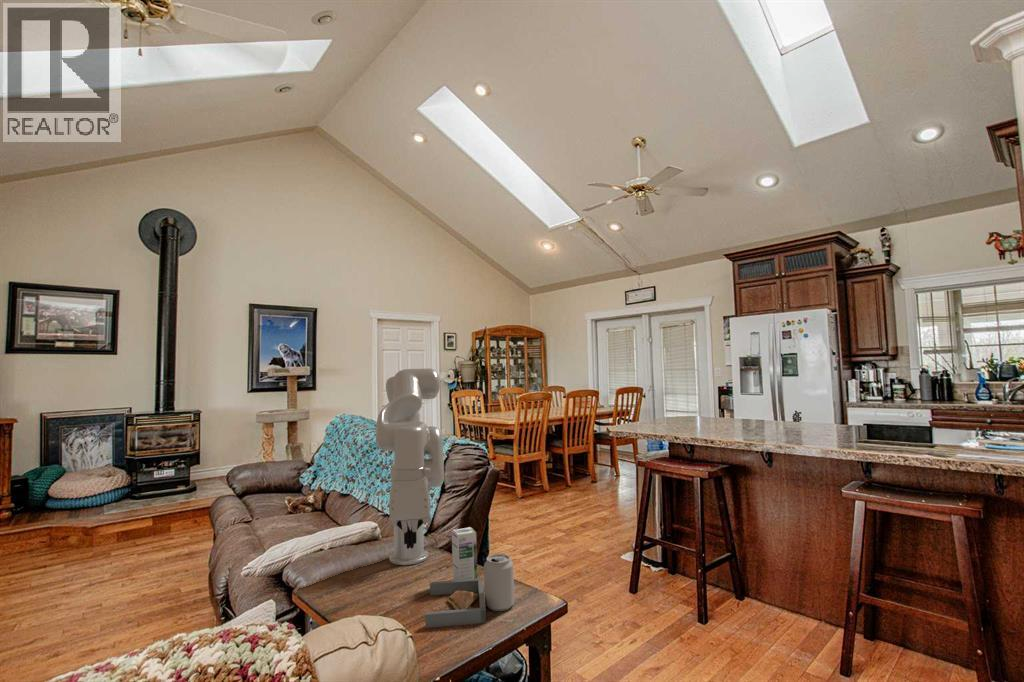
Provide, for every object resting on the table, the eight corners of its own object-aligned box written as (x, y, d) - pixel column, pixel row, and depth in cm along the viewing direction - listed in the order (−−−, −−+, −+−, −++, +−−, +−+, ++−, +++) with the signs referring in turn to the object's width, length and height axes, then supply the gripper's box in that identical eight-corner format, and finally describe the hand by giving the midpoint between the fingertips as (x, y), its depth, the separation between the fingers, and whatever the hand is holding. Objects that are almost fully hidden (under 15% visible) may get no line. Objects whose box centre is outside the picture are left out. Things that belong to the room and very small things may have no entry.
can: (481, 602, 125) (479, 555, 126) (507, 596, 128) (506, 550, 129) (491, 615, 118) (489, 564, 119) (519, 608, 121) (517, 559, 122)
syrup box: (458, 588, 134) (457, 534, 136) (452, 580, 140) (451, 528, 141) (477, 584, 137) (476, 531, 138) (471, 576, 142) (470, 525, 143)
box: (430, 593, 131) (430, 582, 132) (482, 589, 133) (482, 578, 133) (425, 628, 113) (425, 614, 113) (486, 622, 115) (485, 609, 115)
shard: (462, 618, 118) (462, 611, 118) (434, 614, 121) (434, 607, 121) (480, 599, 128) (479, 592, 128) (454, 596, 131) (454, 589, 131)
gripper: (439, 469, 129) (440, 539, 128) (382, 472, 127) (382, 543, 127) (438, 476, 122) (439, 550, 121) (377, 479, 120) (378, 554, 119)
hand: (410, 546), depth 124 cm, fingers closed
